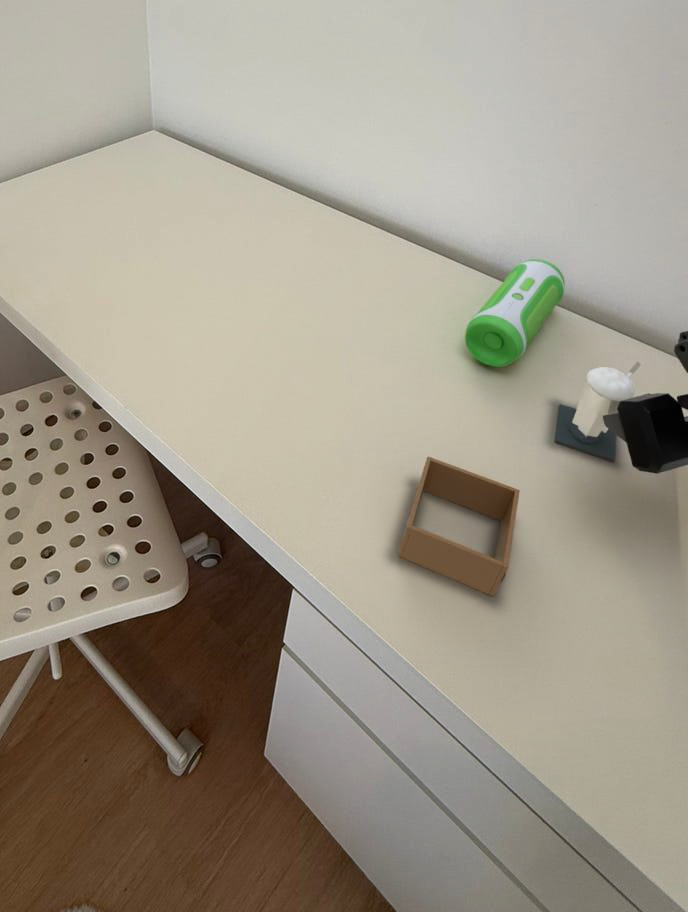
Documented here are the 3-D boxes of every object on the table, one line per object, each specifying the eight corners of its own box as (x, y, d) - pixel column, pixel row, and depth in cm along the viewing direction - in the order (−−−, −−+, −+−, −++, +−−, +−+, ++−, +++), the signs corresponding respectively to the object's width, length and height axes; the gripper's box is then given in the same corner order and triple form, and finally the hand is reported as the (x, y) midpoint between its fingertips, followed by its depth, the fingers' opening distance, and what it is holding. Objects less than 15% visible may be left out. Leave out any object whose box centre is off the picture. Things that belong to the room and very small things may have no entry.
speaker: (510, 381, 83) (528, 336, 78) (454, 354, 86) (468, 310, 82) (558, 311, 93) (576, 267, 89) (506, 289, 97) (521, 247, 92)
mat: (614, 423, 77) (616, 421, 77) (613, 462, 73) (615, 460, 73) (558, 405, 79) (559, 403, 79) (554, 442, 75) (555, 440, 75)
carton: (506, 519, 67) (520, 490, 64) (494, 597, 61) (509, 568, 58) (418, 485, 71) (427, 455, 68) (397, 555, 64) (406, 526, 61)
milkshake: (621, 440, 75) (658, 377, 69) (585, 454, 73) (619, 391, 67) (589, 410, 78) (621, 348, 72) (554, 423, 77) (583, 361, 71)
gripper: (861, 298, 56) (693, 316, 71) (681, 341, 52) (544, 350, 67) (903, 432, 55) (723, 420, 70) (723, 486, 50) (573, 462, 65)
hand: (642, 410), depth 68 cm, fingers open, 9 cm apart
